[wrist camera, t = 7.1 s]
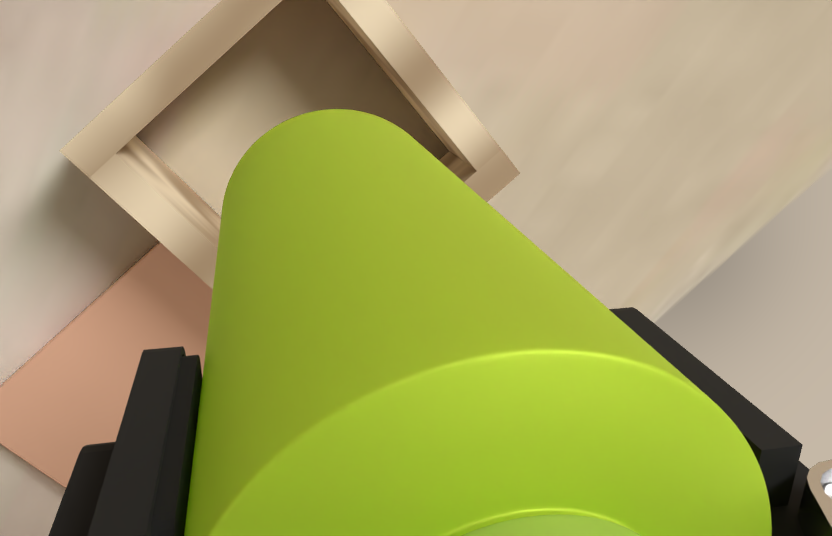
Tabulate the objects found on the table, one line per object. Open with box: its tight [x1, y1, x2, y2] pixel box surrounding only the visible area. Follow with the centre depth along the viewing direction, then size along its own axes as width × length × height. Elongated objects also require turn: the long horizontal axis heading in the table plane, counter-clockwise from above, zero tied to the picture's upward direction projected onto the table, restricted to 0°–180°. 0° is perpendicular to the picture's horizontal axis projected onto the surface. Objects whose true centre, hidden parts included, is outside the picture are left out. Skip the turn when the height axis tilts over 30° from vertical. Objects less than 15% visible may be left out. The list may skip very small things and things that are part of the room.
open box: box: [60, 0, 520, 289], centre depth 33 cm, size 14×14×5 cm
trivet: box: [0, 242, 213, 488], centre depth 39 cm, size 14×14×1 cm
